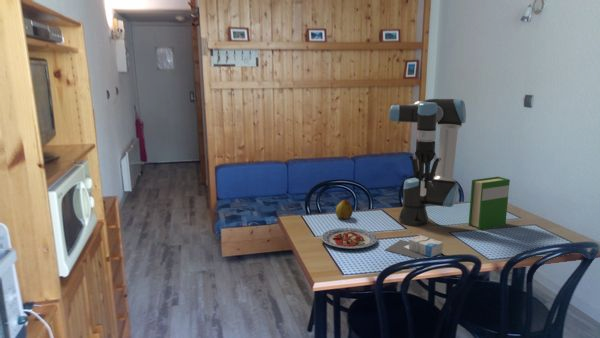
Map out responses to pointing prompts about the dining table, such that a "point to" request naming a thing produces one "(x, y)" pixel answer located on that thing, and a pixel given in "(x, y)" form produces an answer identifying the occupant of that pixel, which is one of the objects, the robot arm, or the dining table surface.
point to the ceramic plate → (349, 238)
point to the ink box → (425, 246)
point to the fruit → (344, 209)
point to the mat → (404, 250)
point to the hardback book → (488, 202)
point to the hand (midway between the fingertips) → (423, 195)
